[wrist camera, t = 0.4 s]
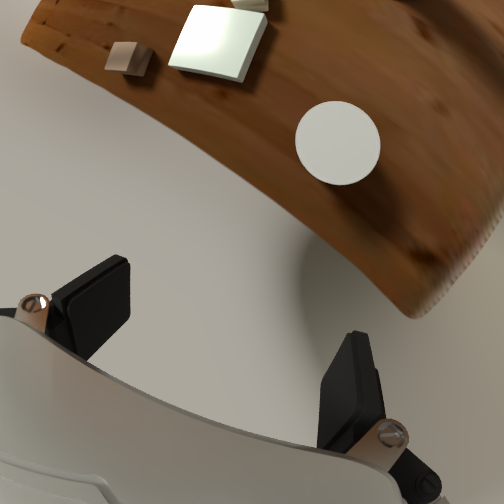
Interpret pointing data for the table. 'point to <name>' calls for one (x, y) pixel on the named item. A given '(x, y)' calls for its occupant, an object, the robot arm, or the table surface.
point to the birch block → (251, 5)
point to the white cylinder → (337, 143)
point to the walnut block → (129, 58)
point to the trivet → (219, 42)
